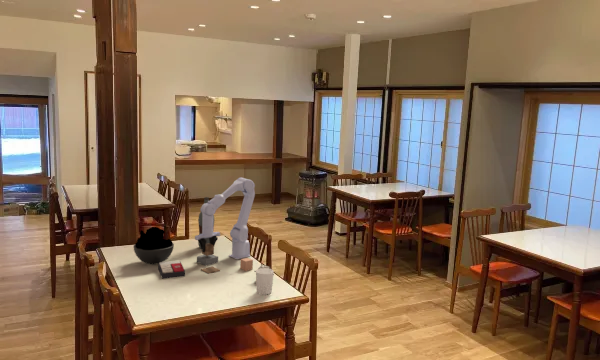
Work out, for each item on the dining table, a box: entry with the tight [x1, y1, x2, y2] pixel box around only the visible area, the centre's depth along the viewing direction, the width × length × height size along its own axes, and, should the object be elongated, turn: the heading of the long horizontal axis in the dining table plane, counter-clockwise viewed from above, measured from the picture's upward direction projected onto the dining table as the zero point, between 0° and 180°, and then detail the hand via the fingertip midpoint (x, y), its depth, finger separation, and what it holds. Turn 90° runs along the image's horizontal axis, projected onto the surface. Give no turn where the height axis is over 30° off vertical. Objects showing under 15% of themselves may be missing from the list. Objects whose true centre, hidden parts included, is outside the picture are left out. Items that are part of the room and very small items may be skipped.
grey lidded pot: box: [254, 263, 275, 276], centre depth 228 cm, size 9×8×10 cm
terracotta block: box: [239, 257, 254, 272], centre depth 244 cm, size 4×4×5 cm
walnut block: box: [201, 243, 215, 256], centre depth 251 cm, size 4×4×5 cm
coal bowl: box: [133, 226, 175, 265], centre depth 246 cm, size 20×20×19 cm
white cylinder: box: [255, 268, 275, 296], centre depth 213 cm, size 8×8×10 cm
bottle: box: [197, 196, 215, 250], centre depth 276 cm, size 9×9×30 cm
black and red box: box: [157, 260, 186, 280], centre depth 234 cm, size 11×4×15 cm
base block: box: [196, 254, 219, 266], centre depth 252 cm, size 8×8×4 cm
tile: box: [200, 265, 221, 274], centre depth 240 cm, size 7×7×1 cm
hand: (207, 250), depth 251 cm, fingers closed on walnut block, 4 cm apart
